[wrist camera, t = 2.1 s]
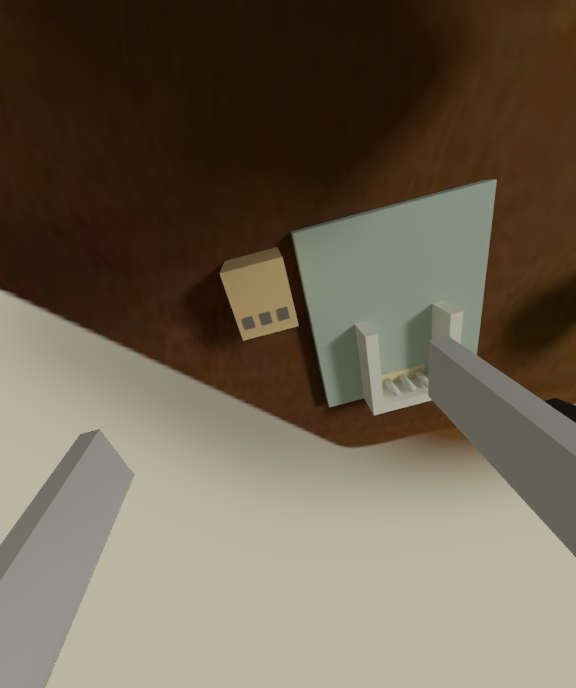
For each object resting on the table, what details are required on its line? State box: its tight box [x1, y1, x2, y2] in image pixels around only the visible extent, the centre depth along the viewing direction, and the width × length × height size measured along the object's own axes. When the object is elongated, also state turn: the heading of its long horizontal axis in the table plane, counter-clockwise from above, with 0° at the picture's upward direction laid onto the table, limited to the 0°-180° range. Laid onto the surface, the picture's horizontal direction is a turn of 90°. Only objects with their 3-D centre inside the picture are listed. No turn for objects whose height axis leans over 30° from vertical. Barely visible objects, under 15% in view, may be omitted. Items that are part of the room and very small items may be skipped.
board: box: [291, 179, 497, 415], centre depth 28 cm, size 20×18×4 cm
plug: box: [219, 247, 299, 341], centre depth 25 cm, size 6×5×5 cm
